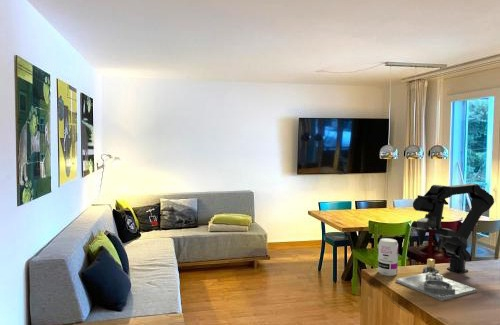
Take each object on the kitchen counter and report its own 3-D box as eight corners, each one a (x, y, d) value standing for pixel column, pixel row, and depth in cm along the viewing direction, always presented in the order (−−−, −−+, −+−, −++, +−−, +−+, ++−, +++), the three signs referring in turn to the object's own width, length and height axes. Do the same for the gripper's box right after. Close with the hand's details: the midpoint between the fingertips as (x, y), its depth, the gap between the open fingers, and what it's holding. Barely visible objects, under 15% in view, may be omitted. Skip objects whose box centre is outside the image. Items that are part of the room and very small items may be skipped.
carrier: (428, 274, 175) (429, 266, 175) (476, 292, 156) (476, 282, 156) (395, 281, 167) (396, 272, 166) (441, 301, 147) (442, 290, 147)
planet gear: (429, 269, 182) (430, 257, 182) (441, 274, 177) (442, 260, 176) (419, 271, 180) (420, 258, 179) (431, 276, 174) (432, 262, 173)
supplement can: (394, 270, 181) (395, 238, 180) (399, 276, 173) (400, 242, 172) (376, 269, 182) (377, 237, 181) (380, 276, 174) (381, 242, 173)
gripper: (405, 207, 181) (400, 241, 181) (441, 216, 165) (435, 253, 165) (422, 209, 186) (417, 242, 186) (458, 218, 170) (452, 254, 170)
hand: (429, 247), depth 177 cm, fingers open, 9 cm apart
